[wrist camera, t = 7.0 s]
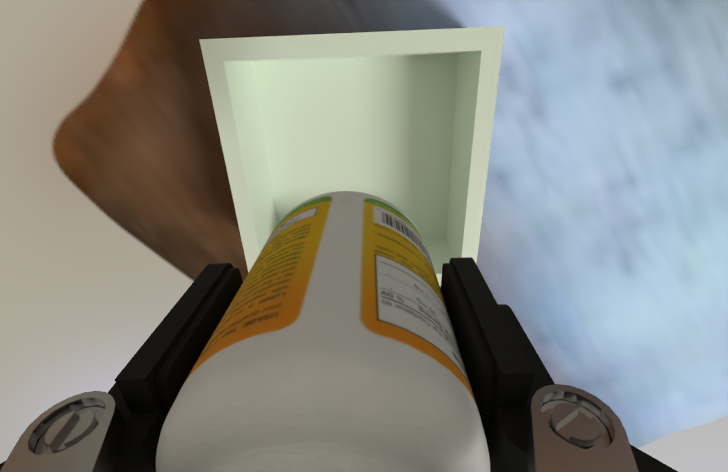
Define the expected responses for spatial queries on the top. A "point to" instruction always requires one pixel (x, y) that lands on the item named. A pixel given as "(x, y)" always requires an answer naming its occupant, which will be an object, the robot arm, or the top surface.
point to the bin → (359, 126)
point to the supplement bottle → (331, 357)
